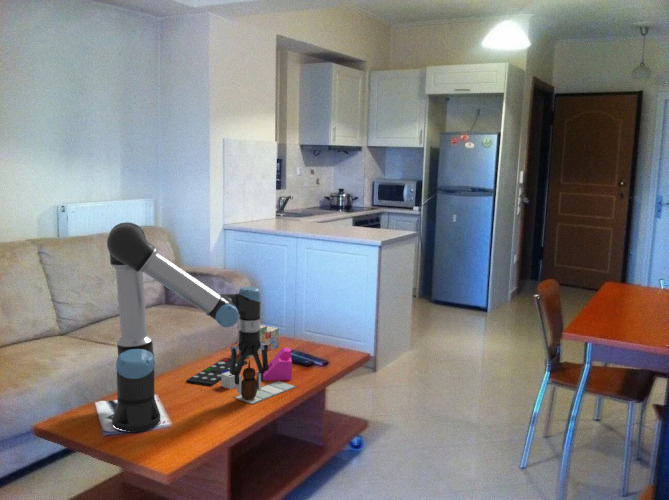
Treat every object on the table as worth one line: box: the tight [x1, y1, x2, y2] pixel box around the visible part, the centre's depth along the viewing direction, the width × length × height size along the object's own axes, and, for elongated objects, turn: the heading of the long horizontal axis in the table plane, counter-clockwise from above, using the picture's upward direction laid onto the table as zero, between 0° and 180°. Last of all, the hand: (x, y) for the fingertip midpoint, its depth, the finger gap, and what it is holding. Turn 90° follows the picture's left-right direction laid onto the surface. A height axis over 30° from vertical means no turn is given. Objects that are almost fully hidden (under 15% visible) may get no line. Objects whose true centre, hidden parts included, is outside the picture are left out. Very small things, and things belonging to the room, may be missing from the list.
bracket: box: [262, 347, 293, 382], centre depth 254 cm, size 12×10×10 cm
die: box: [220, 371, 237, 390], centre depth 242 cm, size 5×5×5 cm
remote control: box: [185, 357, 249, 387], centre depth 257 cm, size 11×30×2 cm, turn 161°
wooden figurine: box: [241, 360, 257, 400], centre depth 229 cm, size 7×6×15 cm
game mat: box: [232, 380, 297, 406], centre depth 237 cm, size 24×10×1 cm, turn 142°
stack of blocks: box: [238, 324, 280, 359], centre depth 286 cm, size 21×6×12 cm, turn 148°
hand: (248, 390), depth 229 cm, fingers closed on wooden figurine, 7 cm apart
